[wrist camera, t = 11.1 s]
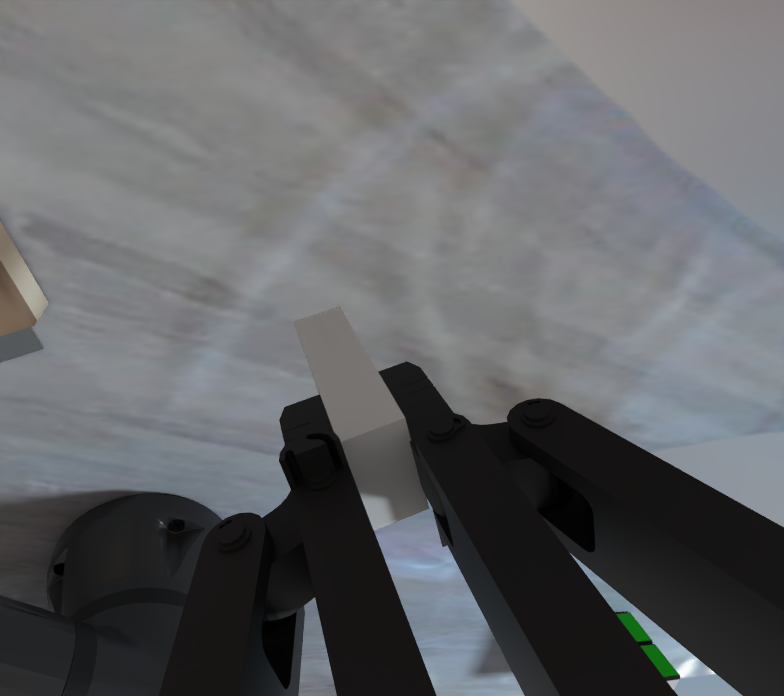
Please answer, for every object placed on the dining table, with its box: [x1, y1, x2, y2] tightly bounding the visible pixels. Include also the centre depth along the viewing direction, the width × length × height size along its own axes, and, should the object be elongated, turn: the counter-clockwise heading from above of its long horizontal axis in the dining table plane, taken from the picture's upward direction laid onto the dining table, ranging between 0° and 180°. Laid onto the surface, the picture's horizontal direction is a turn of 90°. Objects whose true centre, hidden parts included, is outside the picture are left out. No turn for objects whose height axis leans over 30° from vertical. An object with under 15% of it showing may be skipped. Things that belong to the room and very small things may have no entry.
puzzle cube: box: [616, 613, 680, 689], centre depth 74 cm, size 10×10×10 cm
